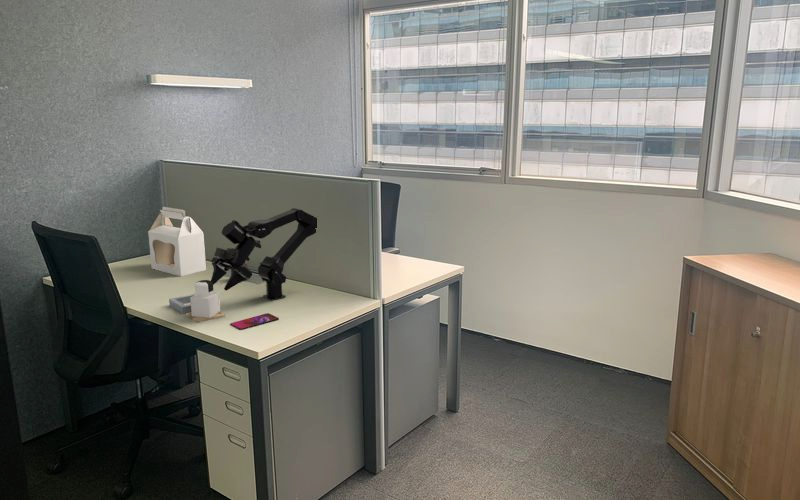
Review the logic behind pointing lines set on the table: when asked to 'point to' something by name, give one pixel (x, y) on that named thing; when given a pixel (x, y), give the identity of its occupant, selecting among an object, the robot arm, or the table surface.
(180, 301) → the parts tub
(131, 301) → the table surface
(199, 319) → the cork coaster
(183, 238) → the gable box
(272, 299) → the robot arm
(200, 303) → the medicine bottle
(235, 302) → the table surface
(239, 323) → the smartphone
